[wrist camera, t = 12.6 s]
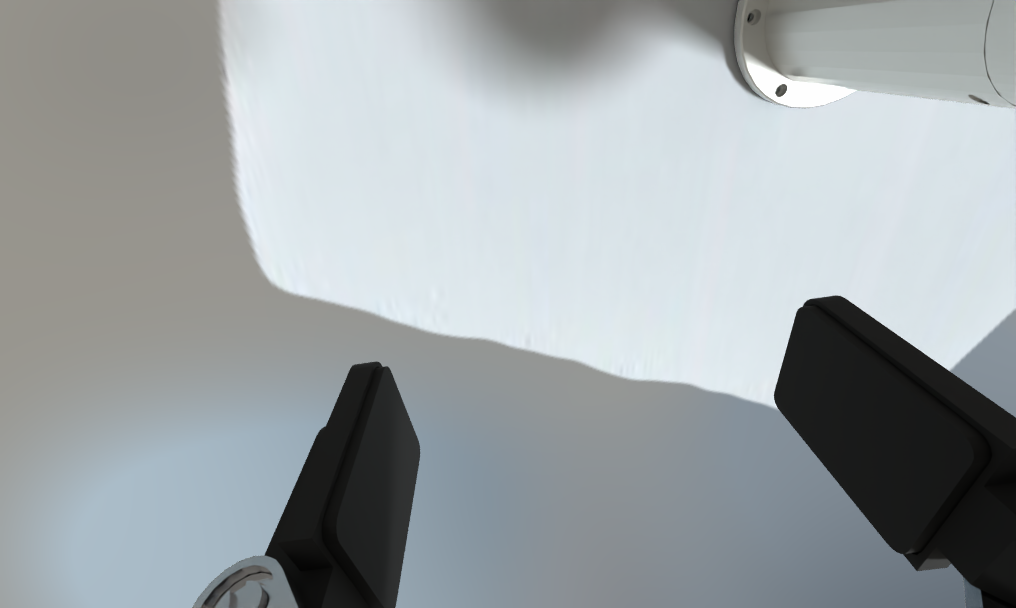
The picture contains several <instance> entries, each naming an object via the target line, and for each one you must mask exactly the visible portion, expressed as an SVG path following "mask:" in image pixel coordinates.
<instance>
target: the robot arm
mask: <svg viewBox="0 0 1016 608" xmlns="http://www.w3.org/2000/svg"><path fill="white" fill-rule="evenodd" d="M748 15H750V19H749V21H748V20H747V18H748ZM734 46H735V51H736V57H737V62H738V65H739V68H740V70H741V72H742V75H743V77H744V79H745V80H746V82H747V83H748V84H749V86H750V87H751V89H752V90H753V91H754V92H756V93H757V94H758V95H759V96H761V97H762V98H763V99H765V100H767V101H770V102H772V103H774V104H776V105H781V106H786V107H790V108H810V107H816V106H822V105H825V104H828V103H831V102H834V101H837V100H839V99H841V98H843V97H845V96H847V95H849V94H851V93H853V92H854V91H856V90H857V91H866V92H874V93H883V94H891V95H900V96H909V97H917V98H926V99H935V100H943V101H952V102H960V103H969V104H978V105H986V106H995V107H1003V108H1012V109H1016V0H739V2H738V7H737V13H736V19H735V25H734ZM776 88H777V90H776ZM775 90H776V91H775ZM774 400H775V403H776V405H777V407H778V409H779V410H780V411H781V413H782V414H783V415H784V416H785V418H786V419H787V420H788V421H789V422H790V424H791V425H792V426H793V428H794V429H795V430H796V431H797V433H799V435H800V436H801V437H802V439H803V440H804V441H805V442H806V444H807V445H808V446H809V447H810V449H811V450H812V451H813V452H814V454H815V455H816V456H817V457H818V458H819V460H820V461H821V462H822V463H823V465H824V466H825V467H826V468H827V470H828V471H829V472H830V473H831V475H832V476H833V477H834V478H835V479H836V481H837V482H838V483H839V484H840V486H841V487H842V488H843V489H844V491H845V492H846V493H847V494H848V496H849V497H850V498H851V499H852V501H853V502H854V503H855V504H856V506H857V507H858V508H859V509H860V510H861V512H862V513H863V514H864V515H865V517H866V518H867V519H868V520H869V522H870V523H871V524H872V525H873V527H874V528H875V529H876V530H877V532H879V534H880V535H881V536H882V538H883V539H884V540H885V541H886V543H887V544H888V545H889V546H890V547H891V548H892V549H893V550H895V551H896V552H898V553H900V554H903V555H904V556H905V557H906V558H907V559H908V561H909V562H910V563H911V564H912V566H913V567H914V568H915V569H916V570H917V571H922V570H930V569H939V568H947V567H948V566H949V565H950V564H951V563H952V564H953V566H954V567H955V568H956V569H957V570H958V571H959V572H960V573H961V574H962V575H963V583H964V593H965V603H966V608H1016V418H1015V417H1014V416H1013V415H1011V414H1010V413H1008V412H1007V411H1005V410H1004V409H1003V408H1001V407H1000V406H998V405H997V404H995V403H994V402H993V401H991V400H990V399H988V398H986V397H985V396H984V395H983V394H981V393H980V392H978V391H977V390H975V389H974V388H972V387H971V386H970V385H968V384H967V383H965V382H964V381H963V380H961V379H960V378H958V377H957V376H955V375H954V374H953V373H951V372H950V371H948V370H947V369H945V368H944V367H943V366H941V365H940V364H938V363H937V362H935V361H934V360H933V359H931V358H930V357H928V356H927V355H925V354H924V353H923V352H921V351H920V350H918V349H917V348H915V347H914V346H913V345H911V344H910V343H908V342H907V341H905V340H904V339H902V338H901V337H900V336H898V335H897V334H895V333H894V332H892V331H891V330H890V329H888V328H887V327H885V326H884V325H882V324H881V323H880V322H878V321H877V320H875V319H874V318H872V317H871V316H870V315H868V314H867V313H865V312H864V311H862V310H861V309H860V308H858V307H857V306H855V305H854V304H852V303H851V302H850V301H848V300H847V299H845V298H843V297H841V296H829V297H822V298H815V299H810V300H807V301H806V302H805V303H804V305H803V307H801V308H799V309H798V311H797V313H796V316H795V320H794V324H793V327H792V331H791V334H790V338H789V342H788V345H787V349H786V352H785V356H784V360H783V363H782V367H781V370H780V374H779V378H778V381H777V385H776V388H775V392H774ZM419 460H420V445H419V441H418V438H417V436H416V433H415V431H414V428H413V426H412V423H411V421H410V418H409V416H408V413H407V411H406V408H405V406H404V403H403V401H402V398H401V395H400V393H399V390H398V388H397V385H396V383H395V381H394V378H393V375H392V373H391V370H390V369H389V367H382V365H381V364H380V363H379V362H370V363H363V364H357V365H353V366H352V367H351V369H350V371H349V373H348V376H347V378H346V380H345V383H344V385H343V387H342V390H341V392H340V394H339V397H338V399H337V402H336V404H335V406H334V409H333V411H332V413H331V416H330V418H329V420H328V423H327V425H326V427H324V428H322V429H321V430H320V431H319V433H318V435H317V436H316V439H315V441H314V443H313V446H312V448H311V450H310V452H309V455H308V457H307V459H306V462H305V464H304V466H303V468H302V471H301V473H300V476H299V478H298V480H297V482H296V485H295V487H294V489H293V491H292V494H291V496H290V498H289V500H288V503H287V505H286V507H285V510H284V512H283V514H282V516H281V519H280V521H279V523H278V526H277V528H276V530H275V532H274V535H273V537H272V539H271V542H270V544H269V546H268V549H267V551H266V553H265V556H253V557H250V558H247V559H244V560H241V561H239V562H238V563H236V564H234V565H232V566H231V567H229V568H228V569H226V570H225V571H224V572H222V573H221V574H220V575H219V576H218V577H217V578H215V579H214V580H213V581H212V582H211V583H210V584H209V585H208V587H207V588H206V589H205V590H204V591H203V592H202V594H201V595H200V596H199V597H198V599H197V601H196V602H195V604H194V606H193V607H192V608H395V606H396V601H397V595H398V589H399V583H400V576H401V570H402V564H403V558H404V552H405V546H406V540H407V534H408V527H409V521H410V515H411V509H412V502H413V496H414V490H415V484H416V478H417V471H418V466H419Z"/></svg>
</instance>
